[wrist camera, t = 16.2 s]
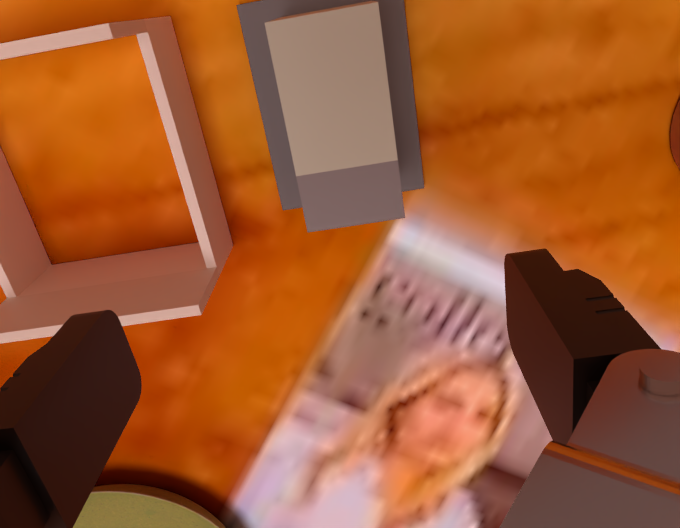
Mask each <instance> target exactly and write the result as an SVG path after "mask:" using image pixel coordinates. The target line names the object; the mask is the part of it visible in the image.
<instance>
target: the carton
mask: <svg viewBox="0 0 680 528" xmlns="http://www.w3.org/2000/svg"><path fill="white" fill-rule="evenodd" d="M130 35H137V39H138V42H139V45H140V49H141V52H142V55H143V59H144V62H145V65H146V69H147V72H148V75H149V79H150V82H151V85H152V88H153V92H154V95H155V98H156V102H157V105H158V108H159V112H160V115H161V118H162V122H163V125H164V128H165V132H166V135H167V138H168V141H169V145H170V148H171V151H172V155H173V158H174V161H175V165H176V168H177V171H178V175H179V178H180V181H181V185H182V188H183V191H184V194H185V198H186V201H187V204H188V208H189V211H190V214H191V218H192V221H193V224H194V228H195V231H196V234H197V237H198V241H199V242H197V243H191V244H184V245H178V246H171V247H165V248H158V249H152V250H145V251H139V252H132V253H126V254H119V255H113V256H106V257H100V258H93V259H87V260H80V261H74V262H67V263H61V264H54V265H51V262H50V260H49V258H48V255H47V253H46V251H45V248H44V246H43V244H42V242H41V239H40V237H39V235H38V232H37V230H36V228H35V225H34V223H33V221H32V218H31V216H30V214H29V211H28V209H27V207H26V205H25V202H24V200H23V198H22V195H21V193H20V191H19V188H18V186H17V184H16V181H15V179H14V177H13V175H12V172H11V170H10V168H9V165H8V163H7V161H6V158H5V156H4V154H3V151H2V149H1V147H0V285H1V287H2V289H3V291H4V293H5V295H6V297H7V299H6V300H5V301H4V302H2V303H1V304H0V343H7V342H14V341H21V340H28V339H35V338H42V337H49V336H54V335H55V334H56V333H57V331H58V330H59V329H60V328H61V327H62V326H63V324H64V323H65V322H66V321H67V320H68V319H69V318H70V317H71V316H72V315H75V314H82V313H89V312H96V311H103V310H111V311H113V312H114V313H115V314H116V315H117V316H118V318H119V320H120V323H121V325H122V326H126V325H133V324H140V323H147V322H154V321H161V320H168V319H175V318H182V317H189V316H196V315H202V312H203V310H204V308H205V306H206V304H207V302H208V299H209V297H210V295H211V293H212V291H213V289H214V286H215V284H216V282H217V280H218V278H219V275H220V273H221V271H222V269H223V267H224V265H225V262H226V260H227V258H228V256H229V254H230V251H231V249H232V247H233V243H232V239H231V235H230V232H229V228H228V224H227V221H226V217H225V214H224V210H223V206H222V203H221V199H220V195H219V192H218V188H217V184H216V181H215V177H214V173H213V170H212V166H211V162H210V159H209V155H208V151H207V148H206V144H205V141H204V137H203V133H202V130H201V126H200V122H199V119H198V115H197V111H196V108H195V104H194V100H193V97H192V93H191V89H190V86H189V82H188V78H187V75H186V71H185V68H184V64H183V60H182V57H181V53H180V49H179V46H178V42H177V38H176V35H175V31H174V27H173V24H172V20H171V16H165V17H157V18H148V19H139V20H130V21H122V22H113V23H106V24H101V25H95V26H90V27H85V28H80V29H74V30H69V31H64V32H59V33H53V34H48V35H43V36H38V37H32V38H27V39H22V40H17V41H11V42H6V43H1V44H0V60H3V59H8V58H13V57H19V56H24V55H29V54H35V53H40V52H45V51H50V50H56V49H61V48H66V47H72V46H77V45H82V44H88V43H93V42H98V41H104V40H109V39H114V38H120V37H125V36H130Z"/></svg>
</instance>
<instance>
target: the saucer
mask: <svg viewBox="0 0 680 528" xmlns="http://www.w3.org/2000/svg"><path fill="white" fill-rule="evenodd" d="M73 528H226V527H225V526H224V525H223V524H222V523H221V522H220V521H219V520H218V519H217V518H216V517H215V516H213V515H212V514H211V513H210V512H208V511H207V510H206V509H204V508H203V507H201V506H200V505H198V504H196V503H195V502H193V501H191V500H189V499H187V498H185V497H183V496H180V495H178V494H175V493H173V492H170V491H167V490H163V489H159V488H155V487H150V486H145V485H134V484H111V485H102V486H96V487H94V488H93V490H92V492H91V494H90V495H89V497H88V499H87V501H86V503H85V505H84V507H83V509H82V511H81V513H80V515H79V517H78V519H77V521H76V522H75V524H74V526H73Z"/></svg>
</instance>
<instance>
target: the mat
mask: <svg viewBox="0 0 680 528" xmlns="http://www.w3.org/2000/svg"><path fill="white" fill-rule="evenodd" d="M367 1H376V2H378V5H379V13H380V21H381V29H382V37H383V45H384V53H385V61H386V69H387V77H388V85H389V93H390V101H391V109H392V117H393V125H394V133H395V141H396V149H397V157H398V165H399V173H400V181H401V189H402V192H403V191H409V190H415V189H422V188H424V181H423V172H422V163H421V154H420V144H419V135H418V126H417V117H416V108H415V98H414V89H413V80H412V71H411V62H410V53H409V43H408V34H407V25H406V16H405V7H404V0H261V1H256V2H251V3H246V4H240V5H237V10H238V14H239V18H240V23H241V27H242V32H243V36H244V40H245V45H246V49H247V54H248V58H249V63H250V67H251V71H252V76H253V80H254V85H255V89H256V94H257V98H258V102H259V107H260V111H261V116H262V120H263V125H264V129H265V133H266V138H267V142H268V147H269V151H270V156H271V160H272V164H273V169H274V173H275V178H276V182H277V187H278V191H279V195H280V200H281V204H282V209H283V210H288V209H294V208H301V207H302V202H301V197H300V193H299V188H298V183H297V178H296V173H295V168H294V164H293V159H292V154H291V149H290V144H289V139H288V135H287V130H286V125H285V120H284V115H283V110H282V106H281V101H280V96H279V91H278V86H277V81H276V76H275V72H274V67H273V62H272V57H271V52H270V47H269V43H268V38H267V33H266V28H265V22H268V21H271V20H274V19H278V18H281V17H285V16H291V15H296V14H302V13H307V12H313V11H318V10H324V9H329V8H334V7H340V6H345V5H351V4H356V3H362V2H367Z"/></svg>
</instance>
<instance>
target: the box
mask: <svg viewBox="0 0 680 528" xmlns="http://www.w3.org/2000/svg"><path fill="white" fill-rule="evenodd" d="M265 28H266V33H267V38H268V43H269V47H270V52H271V57H272V62H273V67H274V72H275V76H276V81H277V86H278V91H279V96H280V101H281V106H282V110H283V115H284V120H285V125H286V130H287V135H288V139H289V144H290V149H291V154H292V159H293V164H294V168H295V173H296V178H297V183H298V188H299V193H300V197H301V202H302V207H303V212H304V217H305V222H306V226H307V231H308V232H314V231H321V230H327V229H334V228H341V227H347V226H354V225H361V224H367V223H374V222H380V221H387V220H394V219H400V218H405V214H404V206H403V197H402V189H401V181H400V173H399V165H398V157H397V149H396V141H395V133H394V125H393V117H392V109H391V101H390V93H389V85H388V77H387V69H386V61H385V53H384V45H383V37H382V29H381V21H380V13H379V5H378V2H376V1H367V2H362V3H356V4H351V5H345V6H340V7H334V8H329V9H324V10H318V11H313V12H307V13H302V14H296V15H291V16H285V17H281V18H278V19H274V20H271V21H268V22H265Z"/></svg>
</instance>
